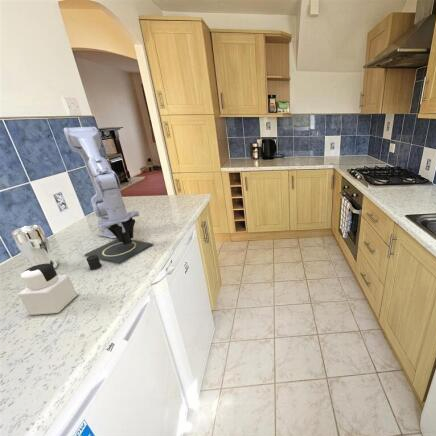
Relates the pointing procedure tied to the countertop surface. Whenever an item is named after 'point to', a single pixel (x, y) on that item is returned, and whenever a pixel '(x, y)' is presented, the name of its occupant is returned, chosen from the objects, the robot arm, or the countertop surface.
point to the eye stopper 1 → (93, 262)
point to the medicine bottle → (46, 290)
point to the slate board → (119, 251)
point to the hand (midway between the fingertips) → (126, 239)
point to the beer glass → (33, 245)
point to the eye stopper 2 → (127, 238)
